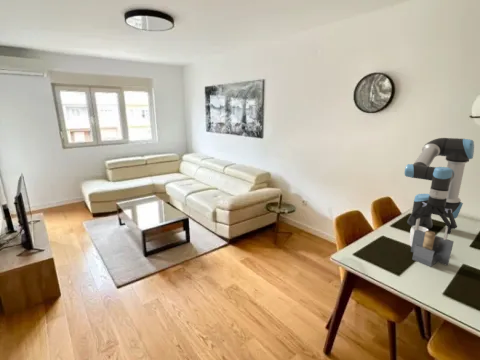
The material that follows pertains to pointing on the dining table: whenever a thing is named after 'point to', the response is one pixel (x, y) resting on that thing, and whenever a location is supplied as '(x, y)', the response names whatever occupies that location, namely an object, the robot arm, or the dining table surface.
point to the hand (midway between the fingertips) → (430, 234)
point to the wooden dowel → (429, 239)
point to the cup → (413, 232)
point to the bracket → (430, 257)
